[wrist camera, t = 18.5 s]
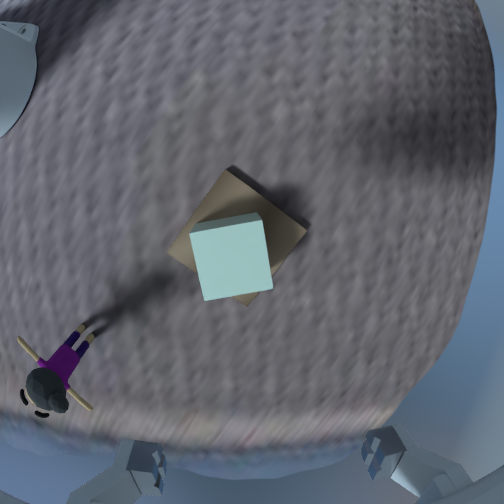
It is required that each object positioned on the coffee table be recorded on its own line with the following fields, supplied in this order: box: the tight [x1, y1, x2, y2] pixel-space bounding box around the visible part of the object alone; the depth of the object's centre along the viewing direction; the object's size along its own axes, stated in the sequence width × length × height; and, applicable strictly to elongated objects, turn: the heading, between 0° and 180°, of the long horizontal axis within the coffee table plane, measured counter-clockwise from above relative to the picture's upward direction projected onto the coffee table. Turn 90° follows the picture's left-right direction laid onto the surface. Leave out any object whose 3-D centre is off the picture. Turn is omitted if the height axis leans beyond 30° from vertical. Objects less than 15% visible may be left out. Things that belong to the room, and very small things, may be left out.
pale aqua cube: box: [189, 212, 273, 301], centre depth 28 cm, size 6×6×5 cm
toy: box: [17, 324, 94, 418], centre depth 26 cm, size 10×6×15 cm, turn 40°
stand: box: [167, 169, 307, 307], centre depth 29 cm, size 10×10×5 cm
